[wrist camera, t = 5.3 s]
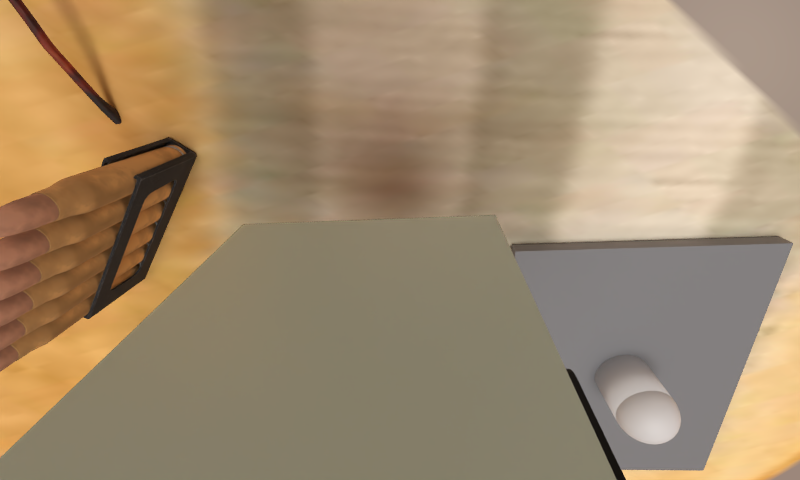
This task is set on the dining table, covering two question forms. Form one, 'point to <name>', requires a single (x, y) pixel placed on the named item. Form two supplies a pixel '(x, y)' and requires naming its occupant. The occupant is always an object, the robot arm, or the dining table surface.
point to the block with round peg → (330, 368)
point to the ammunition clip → (84, 242)
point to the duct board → (655, 333)
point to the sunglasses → (63, 61)
